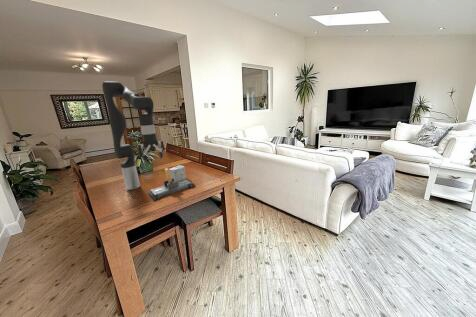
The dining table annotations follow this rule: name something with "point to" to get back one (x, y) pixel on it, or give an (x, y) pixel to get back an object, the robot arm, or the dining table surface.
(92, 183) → the dining table surface
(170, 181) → the breaker lever
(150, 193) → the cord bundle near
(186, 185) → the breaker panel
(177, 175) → the light bulb box
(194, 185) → the cord bundle far
